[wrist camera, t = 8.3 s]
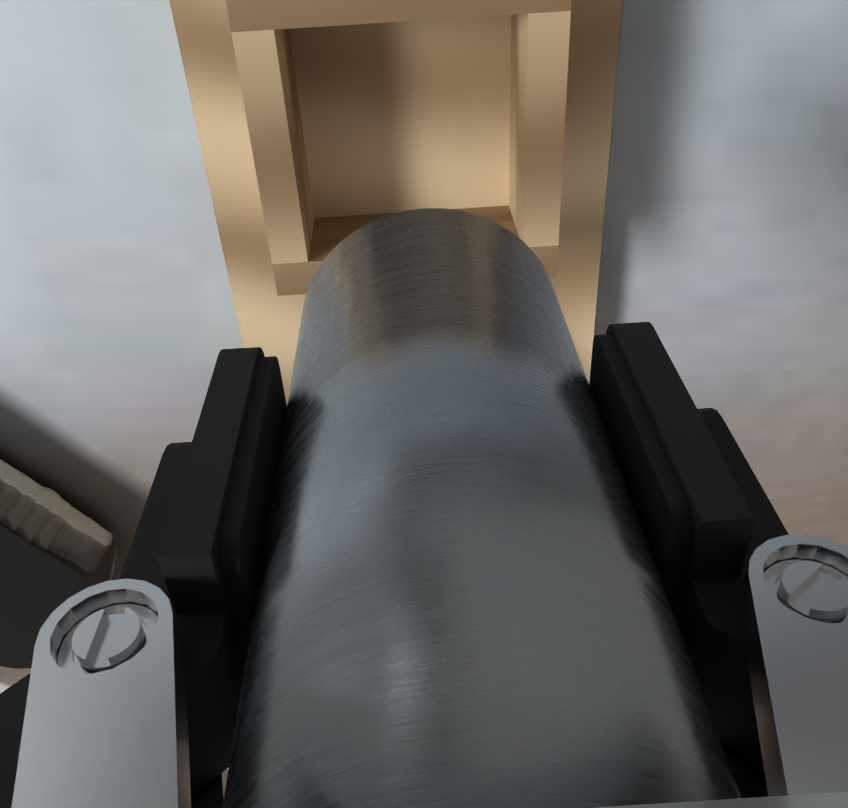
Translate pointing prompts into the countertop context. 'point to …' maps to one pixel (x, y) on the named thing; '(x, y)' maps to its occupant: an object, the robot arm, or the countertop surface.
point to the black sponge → (42, 560)
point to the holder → (399, 135)
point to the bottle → (457, 556)
